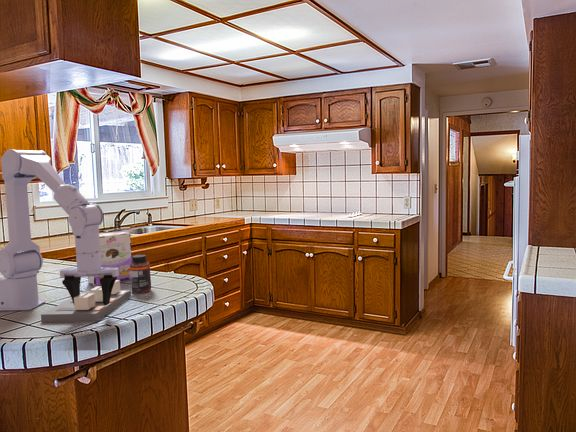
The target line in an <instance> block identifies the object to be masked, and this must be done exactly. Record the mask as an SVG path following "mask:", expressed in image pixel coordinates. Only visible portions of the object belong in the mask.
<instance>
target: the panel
mask: <svg viewBox="0 0 576 432" xmlns="http://www.w3.org/2000/svg"><path fill="white" fill-rule="evenodd" d="M120 290H121V291H119V292H118V293H116V294H111V296H110V303H109V304H107V305H104V304H103V302H95V306H94V307H92V308H90V309H89V310H75V307H74V304H73V301H72V298H71V297H70V298H68V299H67V300H65V301H64V302H61V303H59V304H57V305H56V306H54V307H52V308H50V309H47V311H45V312H43V313H41V314H40V319H41V323H74V322H75V323H77V322H79V323H81V322H83V323H84V322H90V323H91V322H94V323H95V322H98V321H100V320H101V319H102V318H104V317H105V316H106V315H108V314H109V313H110V312H112V311H113V310H114V309H116V308H117V307H119V306H120V305H122V304H123V303H124V302H126V301H127V300H128V299H130V298H131V297H132V289H120ZM84 293H90V290H83V291H82V292H80V294H84Z"/></svg>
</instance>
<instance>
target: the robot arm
mask: <svg viewBox="0 0 576 432" xmlns="http://www.w3.org/2000/svg"><path fill="white" fill-rule="evenodd" d="M0 162H1V163H0V164H1V179H2V180H4V191H5V192H4V193H5V201H6V202H5V204H6V206H5V207H6V219H7V231H8V232H7V233H8V242H7V243H6V244H5V245H4V246H2V247H1V248H0V274H1V275H2V276H1V277H0V311H2V312H3V311H31V310H33V309H34V308H36V307H38V306H40V305H43V304H45V303H46V300H39V299H40V298H39V289H38V287H39V285H38V275H37V274H40V270H41V269H42V267H43V263H44V260H43V255H42V254H41V249H40V245H38V243H36V242H34V241H33V240H32V233H31V221H30V207H29V194H28V193H29V191H28V185H29V184H30V182H32V180H34V179H36V178H38V179H39V180H40V181H41V182H42V183H43V184H44V185H45V186H47V187H48V188H49V189H50V190H51V191H52V192H53V199H54V201H55V202H56V203H57V204H58V205H59V206H60V208H61V209H63V211H64V212H65V214H67V215H68V216H67V221H68V224H69V226H70V227H71V231H72V234H73V236H74V243H75V257H76V259H75V260H76V267H75V268H63V269H60V270H59V278H60V279H63V280H62V281H61V283H62V285H64V287H65V289H66V291H68V293H69V296H70V298H72V301H73V304H74V297H76V296H78V295H80V293H81V278H88V277H101V276H104V278H101V279H100V284H101V285H100V286H101V287H102V293H103V304H104V305H107V304H109V303H110V296H111V292H112V288H113V286H114V283H115V281H116V279H117V276H119V268H108V267H101V253H100V237H99V235H100V225H102V223H103V221H104V212H103V210H102V207H101V206H100V205H99V204H97V203H92V202H90V201H88V199H86V198H85V196H83V194H82V193H80V191H79V190H78V187H77V186H76V185H73V184H66V183H65V181H64V180H63V179H62V178H61V176H60V175H59V174H58V172H57V171H56V169H55V168H54V167H53V166H52V160H51V157H50V156H49V155H48V154H47V153H46V152H45V150H42V149H41V150H25V149H18V150H17V149H12V148H10V149H7V150H5V152H4V153H3V155H2V156H1V157H0Z"/></svg>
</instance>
